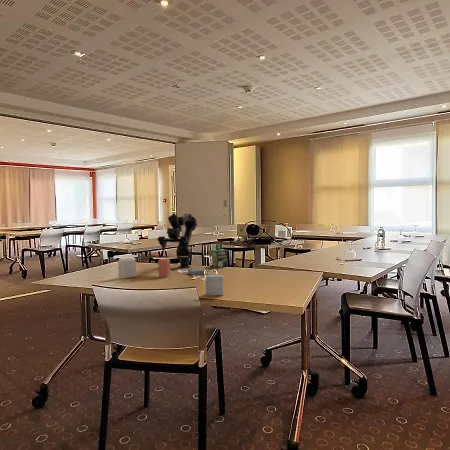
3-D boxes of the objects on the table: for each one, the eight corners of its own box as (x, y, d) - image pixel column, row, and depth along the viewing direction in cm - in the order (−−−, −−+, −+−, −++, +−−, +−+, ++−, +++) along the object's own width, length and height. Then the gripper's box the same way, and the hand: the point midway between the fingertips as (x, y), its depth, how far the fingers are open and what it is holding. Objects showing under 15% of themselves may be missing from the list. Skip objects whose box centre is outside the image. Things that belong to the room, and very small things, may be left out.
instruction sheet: (176, 270, 247) (176, 270, 247) (198, 269, 251) (198, 268, 251) (179, 272, 237) (179, 272, 237) (201, 271, 241) (201, 270, 241)
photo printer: (134, 276, 231) (133, 255, 230) (137, 277, 227) (136, 256, 227) (117, 278, 225) (116, 257, 225) (120, 279, 222) (119, 257, 221)
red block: (161, 275, 230) (161, 259, 229) (170, 275, 228) (169, 259, 228) (158, 277, 225) (158, 260, 225) (167, 277, 224) (167, 260, 223)
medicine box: (223, 293, 178) (223, 274, 178) (223, 295, 174) (222, 276, 173) (207, 293, 179) (206, 275, 178) (205, 295, 174) (205, 276, 174)
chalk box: (220, 265, 265) (219, 243, 264) (228, 266, 258) (227, 244, 257) (209, 266, 259) (208, 244, 259) (217, 268, 252) (216, 245, 251)
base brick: (187, 273, 235) (187, 269, 235) (203, 271, 239) (203, 267, 239) (192, 275, 226) (192, 271, 226) (208, 274, 230) (208, 270, 230)
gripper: (158, 223, 241) (151, 242, 231) (186, 223, 237) (181, 242, 227) (163, 235, 249) (157, 254, 239) (190, 235, 245) (185, 254, 235)
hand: (170, 251), depth 234 cm, fingers open, 9 cm apart
